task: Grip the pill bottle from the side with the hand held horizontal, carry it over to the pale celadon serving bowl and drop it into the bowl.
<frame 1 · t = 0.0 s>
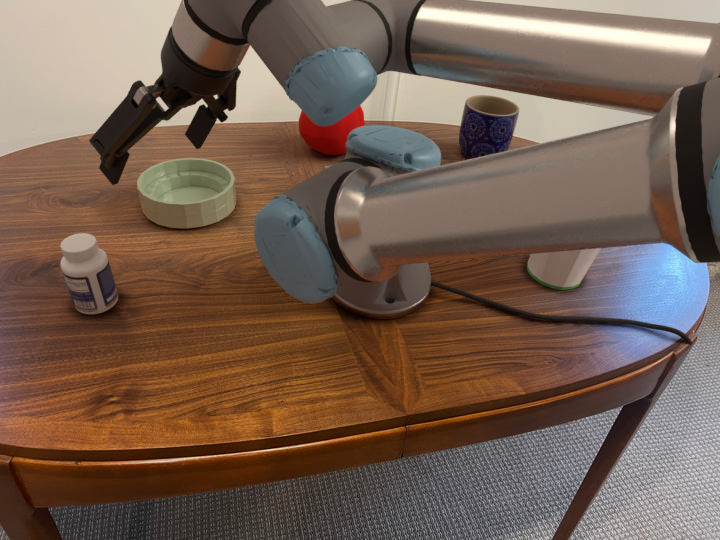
hand: (153, 157, 71), 15 cm above the table, tool tilted 35°, fingers open, 13 cm apart
planter: (480, 156, 114), on the table
cup: (553, 273, 84), on the table
bowl: (190, 205, 91), on the table
ceramic sculpture: (361, 200, 96), on the table
tomato: (330, 151, 111), on the table
pill bottle: (97, 303, 71), on the table
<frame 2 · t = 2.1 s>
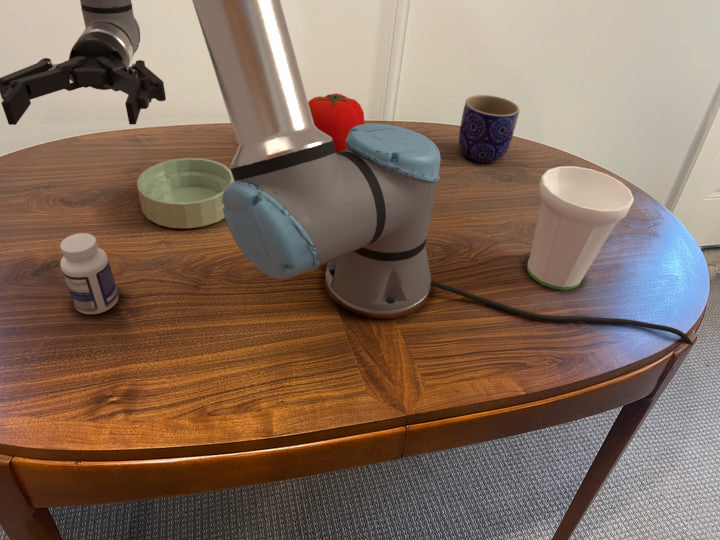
hand: (70, 114, 65), 22 cm above the table, tool horizontal, fingers open, 13 cm apart
nothing on the table moved.
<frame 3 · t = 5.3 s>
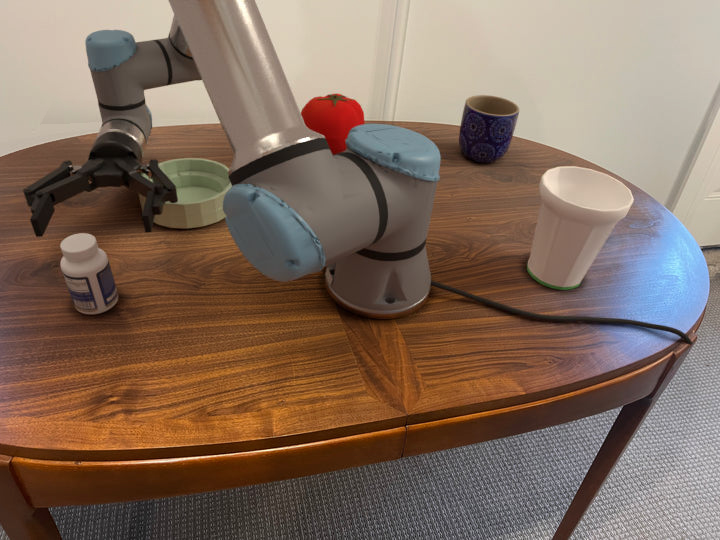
hand: (92, 226, 71), 8 cm above the table, tool horizontal, fingers open, 13 cm apart
nothing on the table moved.
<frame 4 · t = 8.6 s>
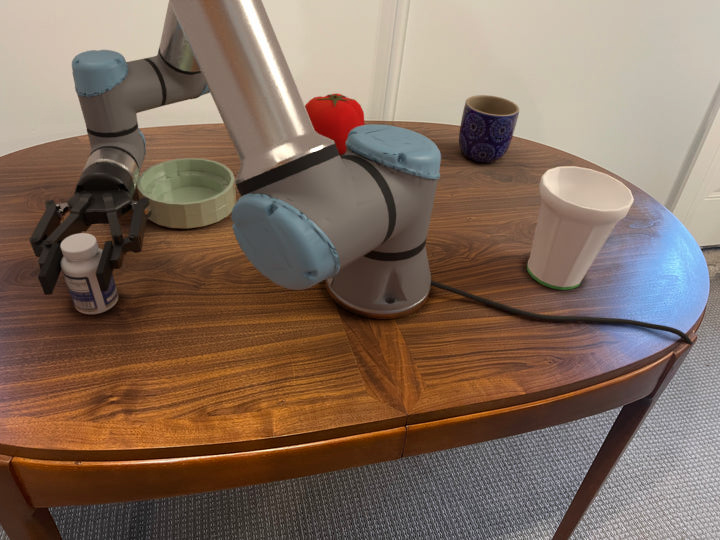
hand: (73, 283, 62), 8 cm above the table, tool horizontal, fingers closed on pill bottle, 5 cm apart
pill bottle: (97, 302, 71), on the table, touching gripper
everything else where it was.
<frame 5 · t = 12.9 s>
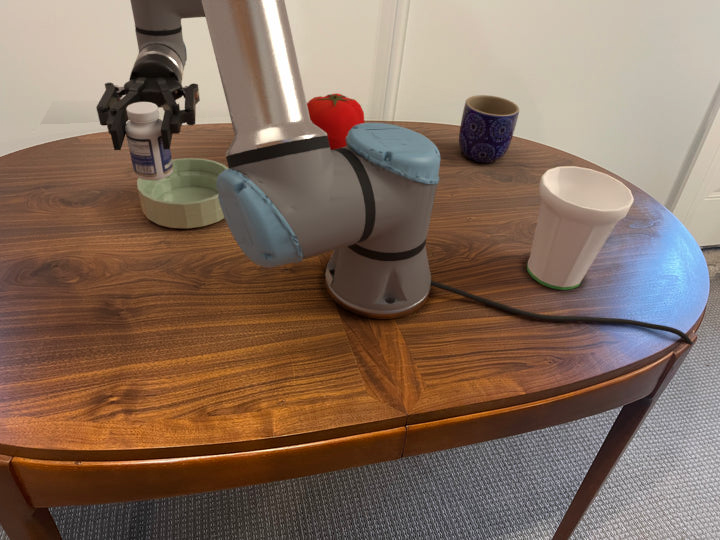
hand: (140, 140, 69), 18 cm above the table, tool horizontal, fingers closed on pill bottle, 5 cm apart
pill bottle: (154, 173, 78), point 10 cm above the table, touching gripper
everything else where it was.
when the fingers open (8 cm above the table, at t = 17.1 s): pill bottle stays where it is, resting on bowl.
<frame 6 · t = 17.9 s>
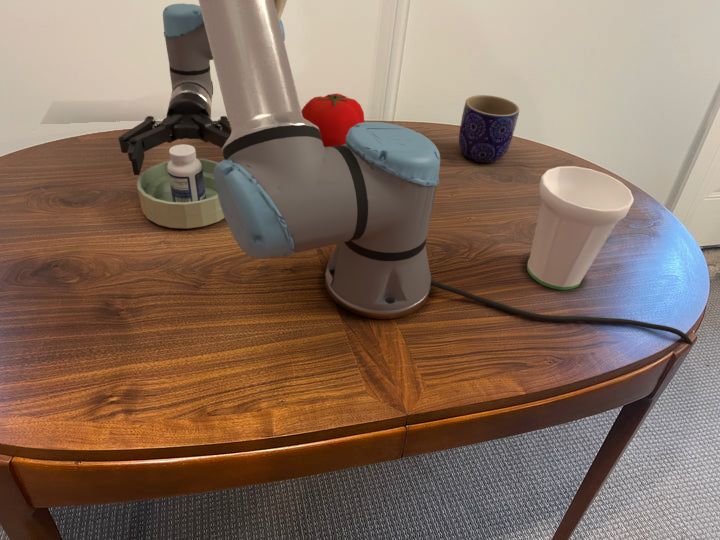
hand: (181, 166, 82), 9 cm above the table, tool horizontal, fingers open, 13 cm apart
pill bottle: (190, 203, 91), resting on bowl
everything else where it was.
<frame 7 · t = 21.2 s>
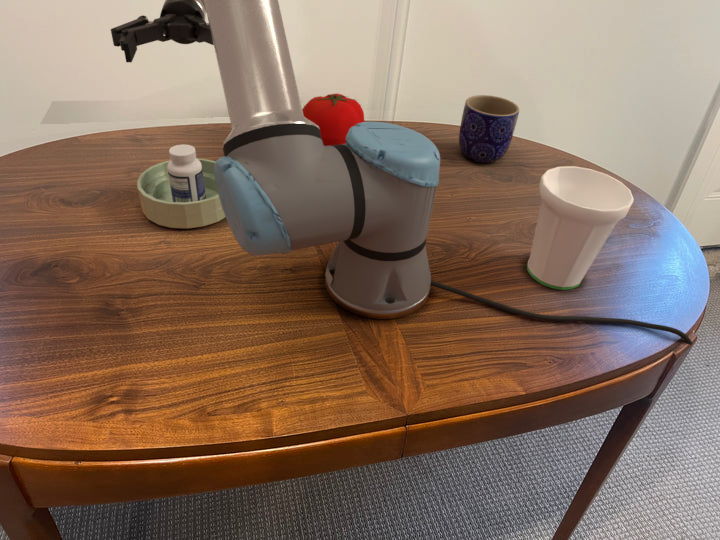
hand: (174, 54, 81), 23 cm above the table, tool horizontal, fingers open, 13 cm apart
nothing on the table moved.
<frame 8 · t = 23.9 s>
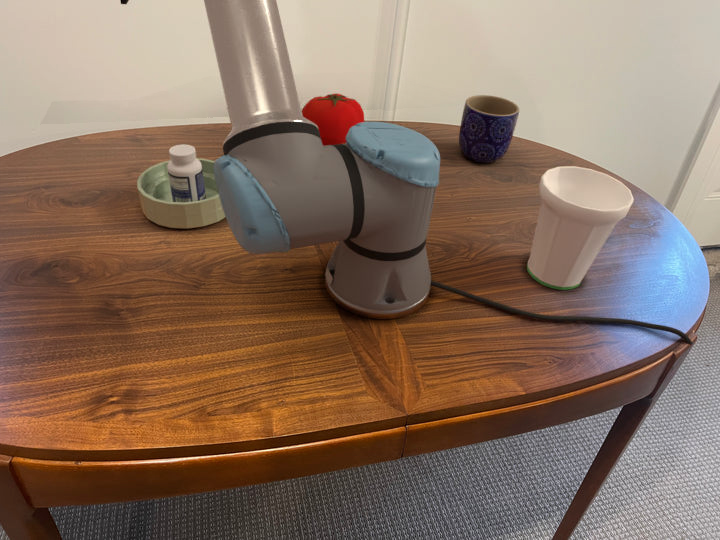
nothing on the table moved.
at the end: pill bottle inside the target area in the bowl (0.1 cm from its centre), point 0.3 cm above the bowl's base; the gripper is holding nothing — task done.
